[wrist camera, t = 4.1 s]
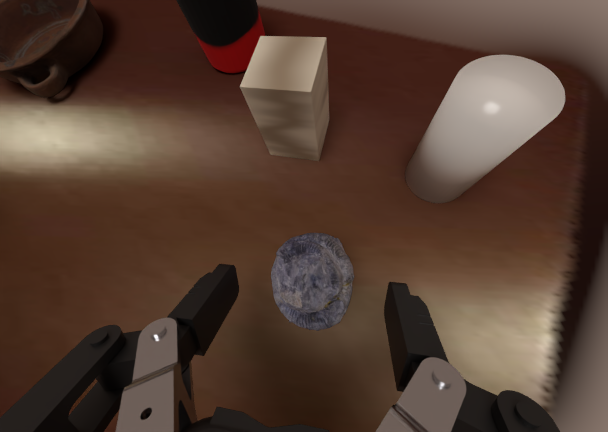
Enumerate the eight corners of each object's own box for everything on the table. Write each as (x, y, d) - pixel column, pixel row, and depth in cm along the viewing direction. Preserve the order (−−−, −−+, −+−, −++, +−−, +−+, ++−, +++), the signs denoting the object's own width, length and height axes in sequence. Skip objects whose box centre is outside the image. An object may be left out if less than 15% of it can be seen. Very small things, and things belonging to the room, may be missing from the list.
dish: (0, 130, 30) (-62, 100, 26) (16, 32, 38) (-28, -5, 33) (123, 82, 30) (85, 43, 26) (114, -6, 38) (84, -49, 33)
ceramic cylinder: (395, 186, 20) (437, 108, 12) (419, 144, 21) (474, 45, 13) (452, 213, 19) (546, 146, 10) (475, 166, 20) (578, 71, 12)
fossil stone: (364, 271, 18) (393, 245, 9) (327, 331, 17) (316, 375, 8) (309, 235, 20) (285, 181, 10) (272, 289, 19) (208, 282, 9)
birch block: (270, 154, 23) (239, 86, 16) (283, 115, 25) (260, 36, 17) (319, 161, 22) (311, 92, 15) (329, 119, 24) (326, 37, 16)
